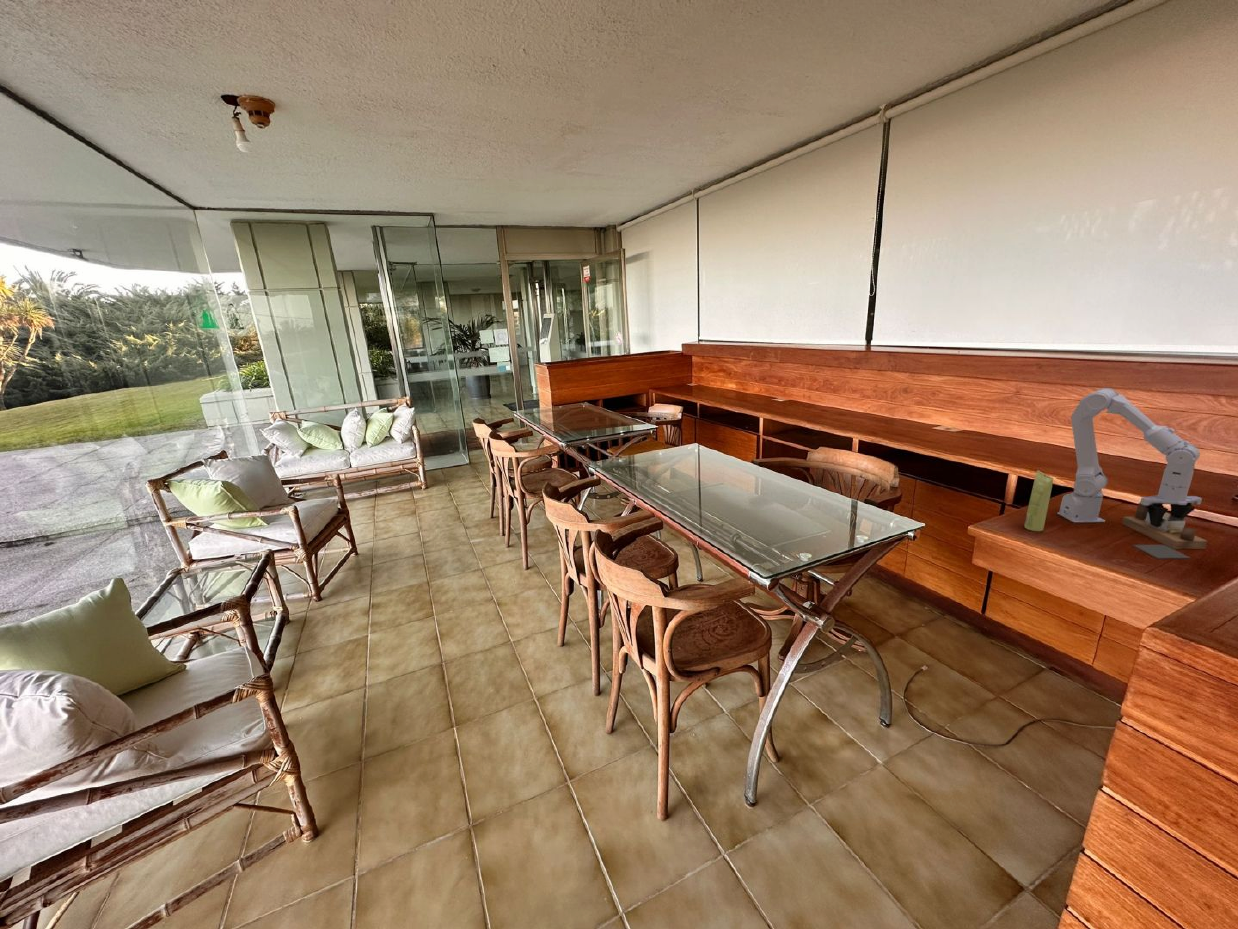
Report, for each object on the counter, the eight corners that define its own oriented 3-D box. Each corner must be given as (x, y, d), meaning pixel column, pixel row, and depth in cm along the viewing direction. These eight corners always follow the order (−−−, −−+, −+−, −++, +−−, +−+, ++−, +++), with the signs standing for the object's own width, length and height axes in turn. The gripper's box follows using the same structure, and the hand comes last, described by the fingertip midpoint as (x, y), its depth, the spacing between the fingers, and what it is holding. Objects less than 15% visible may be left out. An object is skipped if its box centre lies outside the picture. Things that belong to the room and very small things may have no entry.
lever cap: (1165, 533, 147) (1168, 521, 146) (1144, 523, 153) (1147, 512, 152) (1182, 532, 146) (1185, 520, 145) (1160, 523, 153) (1164, 511, 151)
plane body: (1173, 549, 143) (1180, 525, 140) (1121, 523, 160) (1127, 502, 157) (1205, 548, 141) (1212, 525, 139) (1149, 523, 158) (1155, 502, 156)
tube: (1048, 529, 160) (1059, 473, 154) (1042, 533, 157) (1053, 477, 152) (1027, 524, 164) (1037, 470, 159) (1021, 528, 162) (1031, 473, 156)
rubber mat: (1157, 559, 138) (1157, 557, 138) (1133, 546, 146) (1133, 545, 146) (1189, 558, 137) (1190, 557, 137) (1163, 545, 145) (1163, 544, 144)
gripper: (1159, 489, 143) (1148, 531, 147) (1217, 488, 141) (1204, 530, 145) (1138, 481, 149) (1128, 521, 153) (1193, 480, 147) (1181, 520, 151)
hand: (1163, 525), depth 149 cm, fingers closed on lever cap, 4 cm apart
